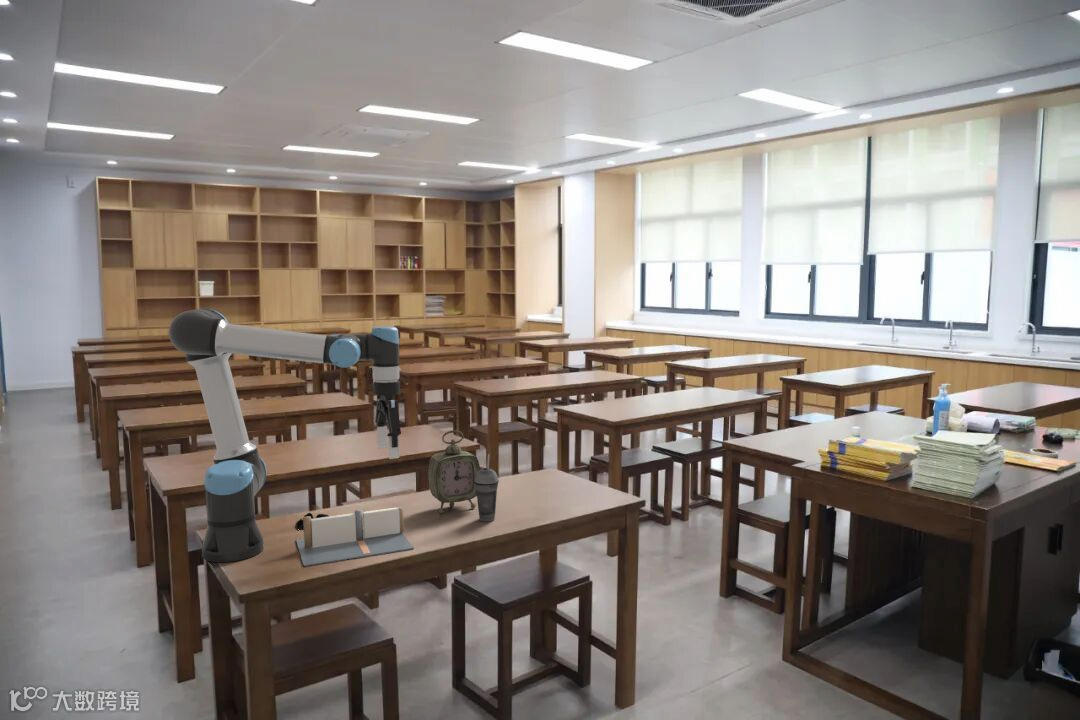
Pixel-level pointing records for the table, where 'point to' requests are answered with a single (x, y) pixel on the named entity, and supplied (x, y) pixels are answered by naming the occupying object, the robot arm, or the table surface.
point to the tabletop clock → (453, 474)
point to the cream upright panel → (383, 522)
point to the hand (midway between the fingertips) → (388, 453)
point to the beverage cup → (486, 492)
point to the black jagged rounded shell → (300, 523)
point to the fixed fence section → (333, 529)
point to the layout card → (353, 549)
